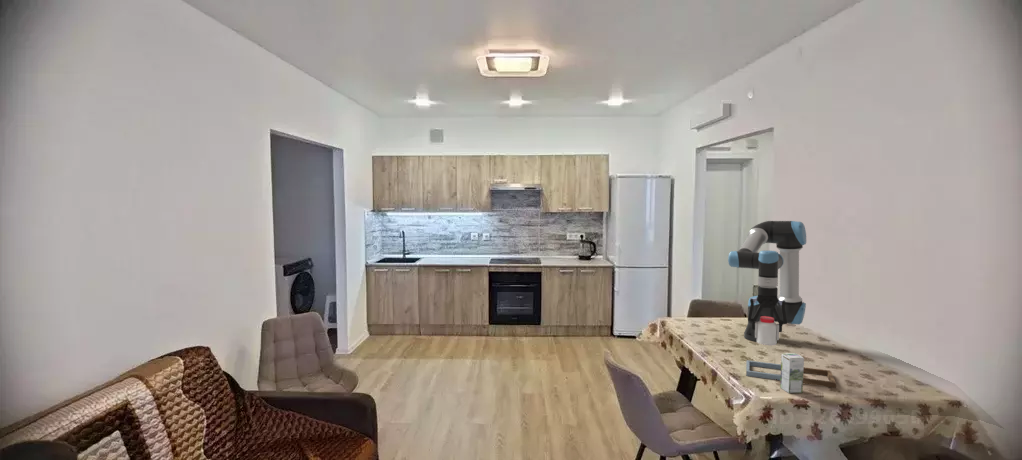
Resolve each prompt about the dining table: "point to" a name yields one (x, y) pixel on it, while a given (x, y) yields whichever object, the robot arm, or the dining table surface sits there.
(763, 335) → the pill bottle
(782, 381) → the syrup box
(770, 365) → the slate frame
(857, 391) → the dining table surface
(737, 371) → the dining table surface
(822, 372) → the walnut frame
